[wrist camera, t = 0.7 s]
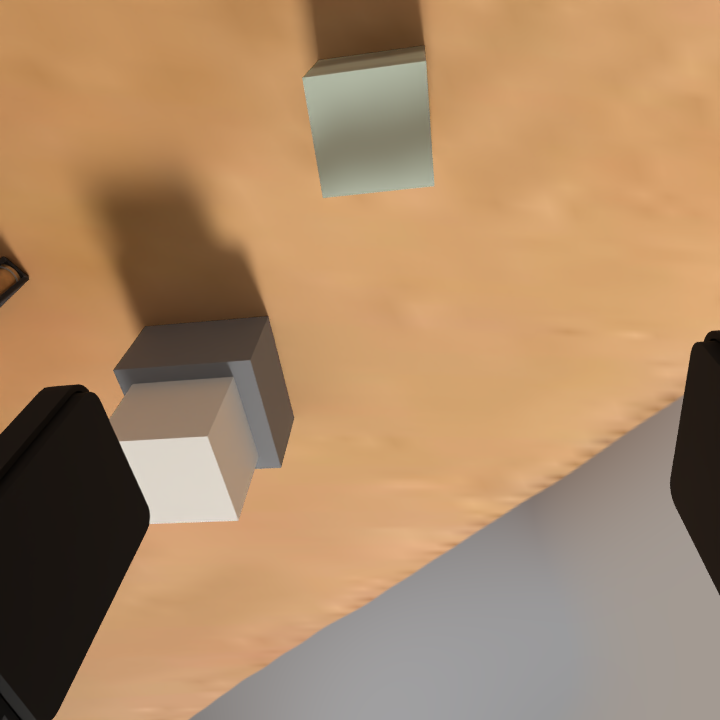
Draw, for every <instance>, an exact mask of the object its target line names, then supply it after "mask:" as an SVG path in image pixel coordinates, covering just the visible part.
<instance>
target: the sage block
mask: <svg viewBox="0 0 720 720" xmlns="http://www.w3.org/2000/svg"><path fill="white" fill-rule="evenodd" d="M302 79H303V85H304V90H305V96H306V102H307V108H308V114H309V120H310V125H311V131H312V137H313V143H314V149H315V155H316V160H317V166H318V172H319V178H320V184H321V190H322V195H323V198H327V197H337V196H346V195H355V194H365V193H374V192H383V191H392V190H402V189H411V188H420V187H430V186H434V173H433V158H432V143H431V128H430V113H429V98H428V83H427V68H426V55H425V45H424V46H416V47H409V48H402V49H395V50H388V51H381V52H374V53H366V54H359V55H352V56H345V57H338V58H331V59H324V60H318V61H317V62H316V64H315V65H314V66H313V67H312V68H311V69H310V70H309V71H308V72H307V73H306V74H305V75H304V77H303V78H302Z"/></svg>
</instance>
